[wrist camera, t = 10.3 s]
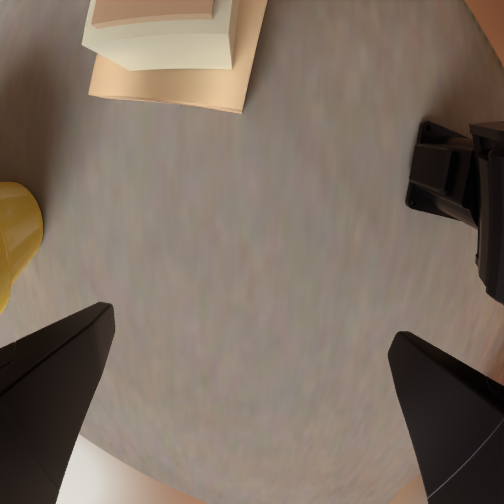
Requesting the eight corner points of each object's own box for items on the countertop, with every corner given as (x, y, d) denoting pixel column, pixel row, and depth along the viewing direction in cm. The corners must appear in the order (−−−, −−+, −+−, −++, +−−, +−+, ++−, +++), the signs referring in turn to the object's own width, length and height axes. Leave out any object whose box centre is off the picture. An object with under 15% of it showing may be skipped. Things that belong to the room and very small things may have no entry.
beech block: (268, -4, 15) (274, -26, 12) (241, 114, 19) (242, 110, 15) (141, -14, 14) (126, -35, 11) (110, 99, 18) (88, 94, 14)
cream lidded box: (241, -15, 12) (242, -81, 6) (232, 69, 14) (227, 28, 8) (144, -12, 12) (104, -67, 6) (130, 71, 14) (74, 41, 8)
